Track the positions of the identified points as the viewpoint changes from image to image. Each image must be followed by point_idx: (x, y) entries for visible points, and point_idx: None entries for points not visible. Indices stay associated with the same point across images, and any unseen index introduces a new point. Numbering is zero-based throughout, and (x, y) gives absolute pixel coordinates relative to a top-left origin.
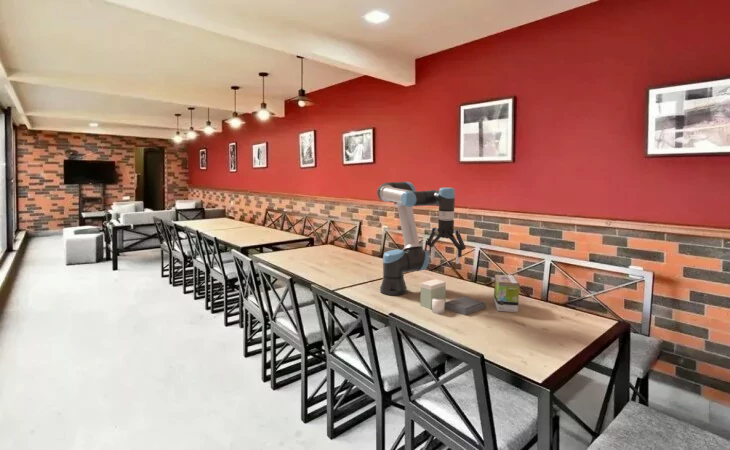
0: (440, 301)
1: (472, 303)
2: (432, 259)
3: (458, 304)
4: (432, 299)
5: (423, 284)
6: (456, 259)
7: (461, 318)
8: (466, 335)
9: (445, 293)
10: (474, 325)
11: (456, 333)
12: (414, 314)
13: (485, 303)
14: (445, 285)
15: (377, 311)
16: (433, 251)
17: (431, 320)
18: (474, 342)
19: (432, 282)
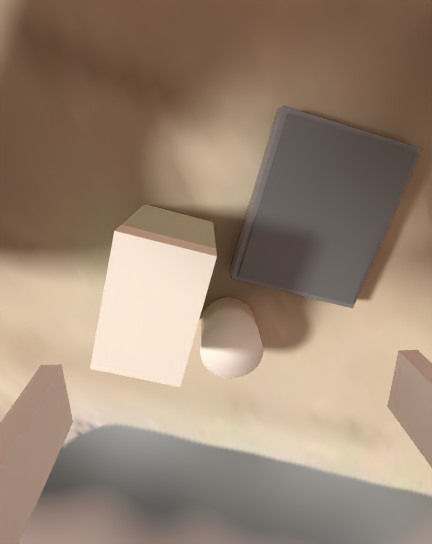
0: (250, 365)
1: (365, 217)
2: (70, 414)
3: (305, 270)
4: (204, 362)
5: (117, 371)
6: (424, 449)
7: (339, 336)
8: (394, 446)
9: (214, 236)
10: None
11: (362, 450)
12: (163, 396)
13: (419, 150)
14: (215, 250)
15: None
16: (14, 494)
17: (247, 409)
18: (427, 471)
19: (146, 319)
